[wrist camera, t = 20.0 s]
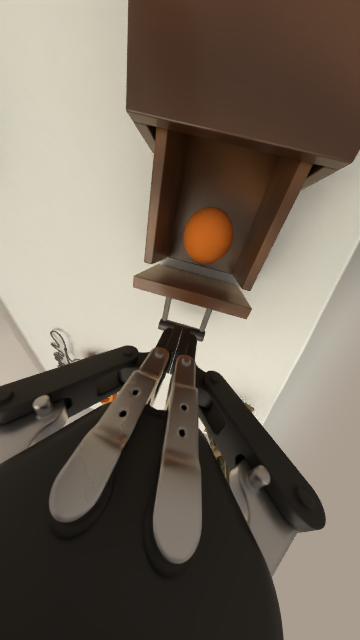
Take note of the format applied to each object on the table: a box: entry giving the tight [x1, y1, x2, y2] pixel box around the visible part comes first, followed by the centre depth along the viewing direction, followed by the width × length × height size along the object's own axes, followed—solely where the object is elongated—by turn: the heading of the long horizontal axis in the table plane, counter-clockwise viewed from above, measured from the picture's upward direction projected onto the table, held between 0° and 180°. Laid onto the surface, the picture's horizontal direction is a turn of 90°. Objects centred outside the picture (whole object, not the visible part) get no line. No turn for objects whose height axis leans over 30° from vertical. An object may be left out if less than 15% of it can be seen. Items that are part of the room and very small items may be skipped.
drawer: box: [133, 127, 313, 342], centre depth 15 cm, size 20×12×8 cm, turn 167°
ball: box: [183, 207, 233, 264], centre depth 15 cm, size 5×5×5 cm
